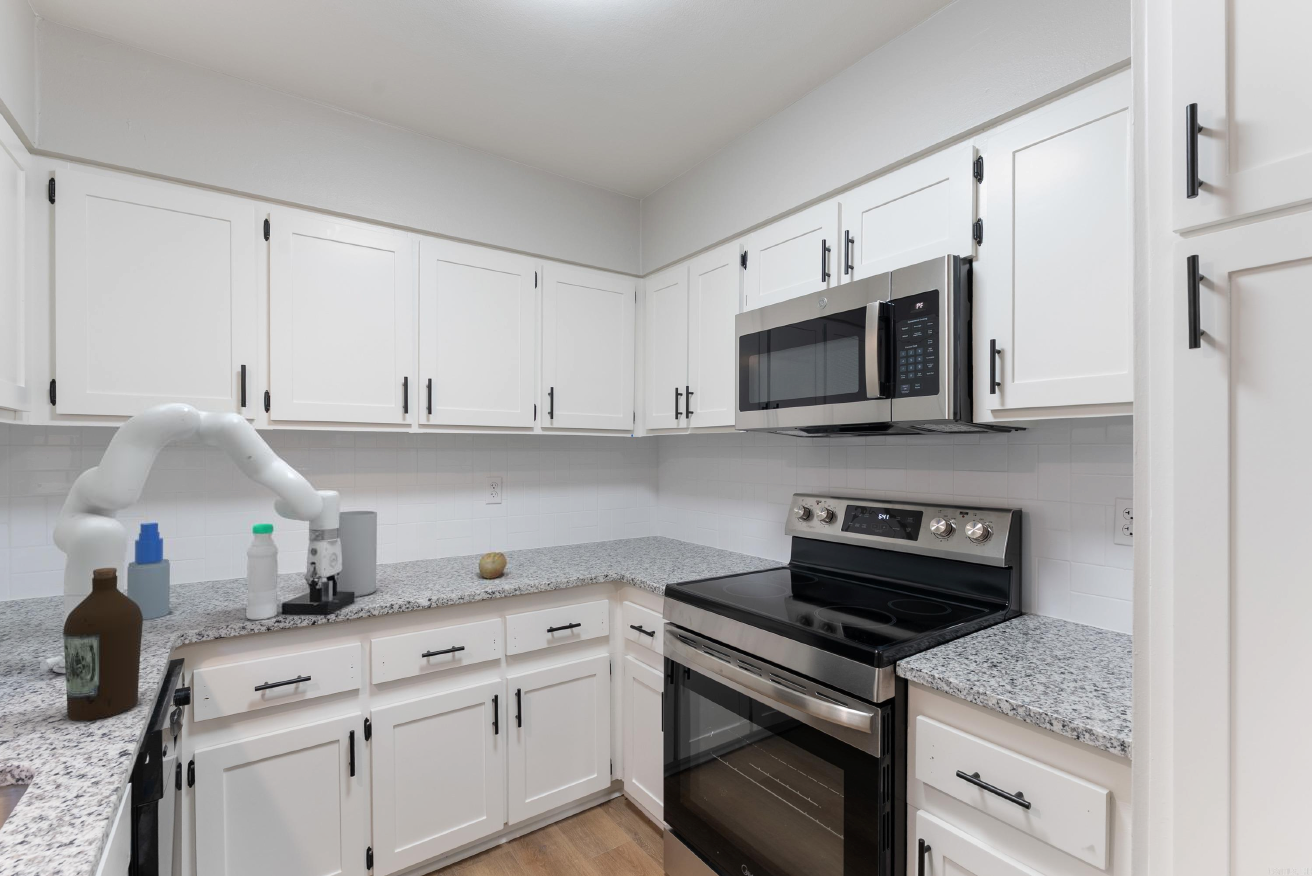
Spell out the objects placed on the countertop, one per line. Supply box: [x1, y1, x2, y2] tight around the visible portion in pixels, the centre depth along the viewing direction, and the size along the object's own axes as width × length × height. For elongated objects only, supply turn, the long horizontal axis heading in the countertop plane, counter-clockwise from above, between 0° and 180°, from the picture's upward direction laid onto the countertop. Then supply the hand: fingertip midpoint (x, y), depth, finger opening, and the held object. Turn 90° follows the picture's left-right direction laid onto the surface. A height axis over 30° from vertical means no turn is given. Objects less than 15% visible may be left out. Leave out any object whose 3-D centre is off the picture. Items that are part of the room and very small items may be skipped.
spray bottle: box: [126, 522, 171, 621], centre depth 169 cm, size 9×9×25 cm
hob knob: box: [315, 579, 333, 602], centre depth 174 cm, size 4×2×6 cm, turn 86°
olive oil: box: [62, 568, 144, 722], centre depth 111 cm, size 11×11×25 cm
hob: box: [281, 591, 356, 616], centre depth 178 cm, size 15×14×3 cm
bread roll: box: [478, 551, 508, 580], centre depth 223 cm, size 10×15×8 cm, turn 10°
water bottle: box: [245, 523, 279, 621], centre depth 169 cm, size 7×7×25 cm
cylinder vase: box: [336, 510, 378, 598], centre depth 195 cm, size 12×12×25 cm
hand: (323, 598), depth 174 cm, fingers open, 6 cm apart
